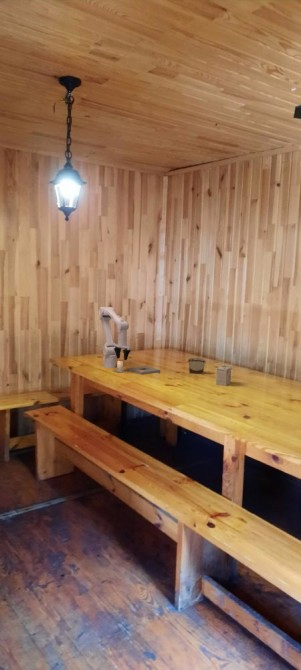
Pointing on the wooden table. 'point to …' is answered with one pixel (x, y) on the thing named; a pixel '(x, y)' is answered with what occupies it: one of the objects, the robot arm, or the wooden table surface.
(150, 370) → the hole plate
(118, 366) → the peg
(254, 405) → the wooden table surface
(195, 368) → the food container
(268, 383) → the wooden table surface
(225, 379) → the light bulb box
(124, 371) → the square grey metal plate
